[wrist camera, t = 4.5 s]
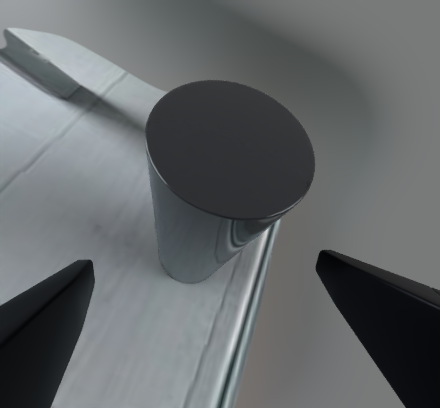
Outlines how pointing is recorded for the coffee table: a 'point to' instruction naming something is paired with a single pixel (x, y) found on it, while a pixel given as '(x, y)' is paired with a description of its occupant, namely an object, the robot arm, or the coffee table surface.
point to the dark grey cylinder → (221, 172)
